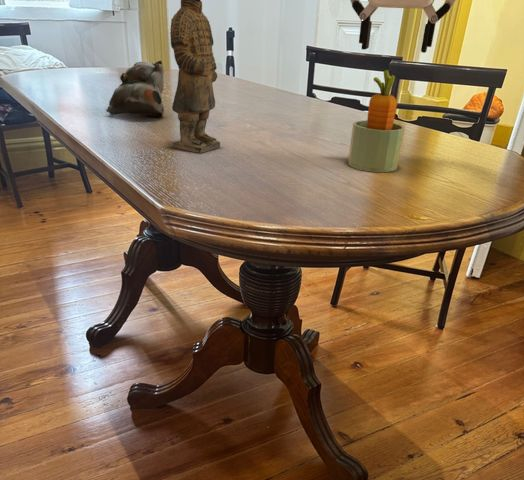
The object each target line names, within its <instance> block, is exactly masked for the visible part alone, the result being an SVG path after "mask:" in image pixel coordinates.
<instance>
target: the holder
mask: <svg viewBox="0 0 524 480" xmlns="http://www.w3.org/2000/svg"><path fill="white" fill-rule="evenodd" d="M405 128H406V127H405V126H403V125H401V124H400V123H396V122H393V126H392V130H376V129H369V128H367V120H357V121H354V122H353V123H352V128H351V129H352V130H351V136H350V137H351V138H350V144H349V152H348V159H347V160H348V162H347V163H348V164H347V165H348V166H350V167H351V168H353V169H355V170H360V171H364V172H371V173H390V172H394V171H396V170H397V169H398V165H399V160H400V155H401V150H402V145H403V140H404V134H405Z"/></svg>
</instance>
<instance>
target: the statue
mask: <svg viewBox="0 0 524 480" xmlns="http://www.w3.org/2000/svg"><path fill="white" fill-rule="evenodd" d="M170 20H171V21H170V30H169V31H170V32H169V35H170V36H169V37H170V46H171V49H172V50H173V55H174V60H175V63H176V65H177V67H178V75H177V77H178V78H177V83H176V84H177V85H176V86H177V87H176V90H175V94H174V98H173V101H172V105H171V109H172V111H173V112H175V113H176V114H177V119H178V121H179V136H180V137H179V140H178V141H174V142H173V148H174V149H176V150H177V149H178V150H181V151H182V150H183V151H187V152H193V153H197V154H202V153H205V152H209V151H212V150H215V149H218V148H221V142H220V141H218V140H217V138H215V137H213V136H210V135H209V134H207V133H206V127H207V122H208V119H209V116H210V111H212V110H214V109H215V108H216V98H215V93H214V87H213V86H214V85H213V83H214V82H216V81H217V80H218V79H217V78H218V74H217V71H216V70H217V63H216V59H215V57H214V52H213V46H214V37H213V33H212V28H211V24H210V21H209V19H208V17H207V16H206V15H205V14H204V13H203V1H202V0H180V8H179V9H178V10H177V11H176V13H175V14H174V15H173V17H172V18H171V19H170Z"/></svg>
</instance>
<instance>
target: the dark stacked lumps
mask: <svg viewBox="0 0 524 480" xmlns="http://www.w3.org/2000/svg"><path fill="white" fill-rule="evenodd" d="M119 80H120V81H121V83H120V85H118V87H116V88H115V89H114V90H113V93H112V95H111V97H110V100H109V102H108V107H107V108H106V109H105V112H106V113H109V114H110V115H111V116H113V115H121V114H127V115H129V114H130V115H147V116H149V115H150V116H153V117H159V118H163V116H164V113H165V106H164V103H163V98H162V97H163V96H162V94H163V91H164V66H163V62H162V60H158V61H156V62H155V63H153V62H149V61H141V60H140V61H138V62H135V63H134V64H133V65H132V66H130V67H128V69H127V70H126V71H125V72H122V73H121V75H120V77H119Z"/></svg>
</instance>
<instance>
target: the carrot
mask: <svg viewBox="0 0 524 480" xmlns="http://www.w3.org/2000/svg"><path fill="white" fill-rule="evenodd" d="M395 79H396V76H395V75H393V74H392V75H391V74H390V73H389V70H388V69H387V70H386V69H385V70H383V80H384V82H383V81H381V80H380V78H378V77H373V80H372V81H373V82H375V83H376V84H377V86H378V88H379V91H380V93H376V94H373V95H372V96H371V97H370V99H369V103H368V111H367V118H366V119H367V128H369V129H376V130H392V126H393V123H394V122H395V117H396V112H397V106H398V101H397V98H396V97H395V96H394V95H392V94H389V93H390V91H391V90H392V87H393V85H394V82H395Z"/></svg>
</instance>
